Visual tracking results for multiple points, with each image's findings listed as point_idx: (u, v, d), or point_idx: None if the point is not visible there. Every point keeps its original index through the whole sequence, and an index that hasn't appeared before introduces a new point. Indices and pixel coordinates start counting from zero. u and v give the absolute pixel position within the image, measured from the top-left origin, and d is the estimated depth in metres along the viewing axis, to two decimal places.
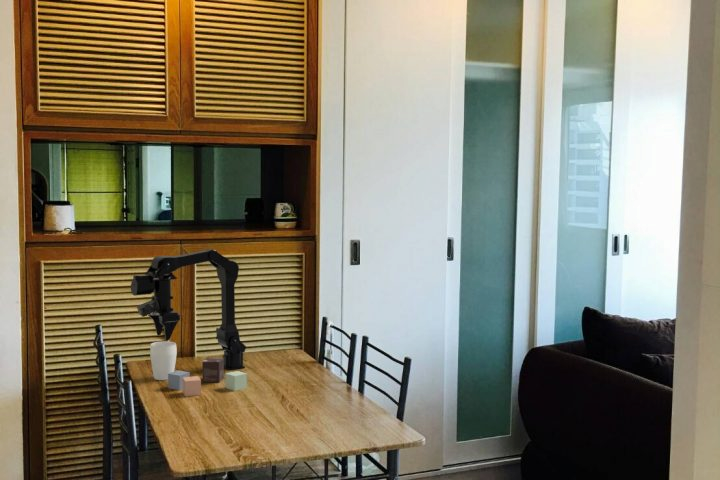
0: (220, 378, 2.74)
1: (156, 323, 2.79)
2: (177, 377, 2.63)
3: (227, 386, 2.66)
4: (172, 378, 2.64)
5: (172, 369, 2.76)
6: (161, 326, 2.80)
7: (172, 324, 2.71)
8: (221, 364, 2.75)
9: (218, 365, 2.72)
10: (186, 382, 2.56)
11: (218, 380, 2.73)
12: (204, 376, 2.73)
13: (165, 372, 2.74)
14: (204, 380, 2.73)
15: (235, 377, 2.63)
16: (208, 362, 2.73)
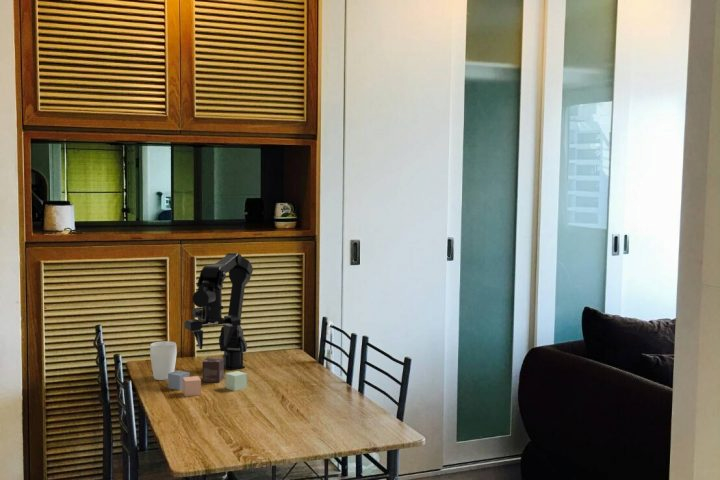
0: (220, 378, 2.74)
1: (224, 333, 2.78)
2: (177, 377, 2.63)
3: (227, 386, 2.66)
4: (172, 378, 2.64)
5: (172, 369, 2.76)
6: (226, 337, 2.77)
7: None
8: (221, 364, 2.75)
9: (218, 365, 2.72)
10: (186, 382, 2.56)
11: (218, 380, 2.73)
12: (204, 376, 2.73)
13: (165, 372, 2.74)
14: (204, 380, 2.73)
15: (235, 377, 2.63)
16: (208, 362, 2.73)
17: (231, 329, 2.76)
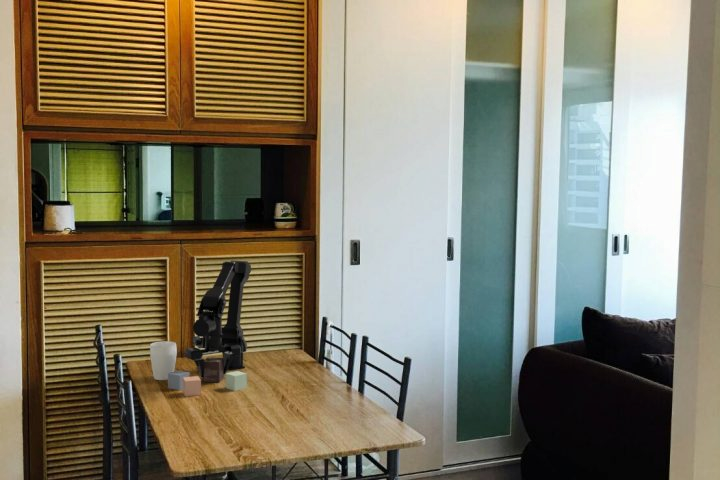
0: (220, 378, 2.74)
1: None
2: (177, 377, 2.63)
3: (227, 386, 2.66)
4: (172, 378, 2.64)
5: (172, 369, 2.76)
6: (225, 365, 2.77)
7: None
8: (221, 364, 2.75)
9: (218, 365, 2.72)
10: (186, 382, 2.56)
11: (218, 380, 2.73)
12: (204, 376, 2.73)
13: (165, 372, 2.74)
14: (204, 380, 2.73)
15: (235, 377, 2.63)
16: (208, 362, 2.73)
17: (230, 357, 2.76)
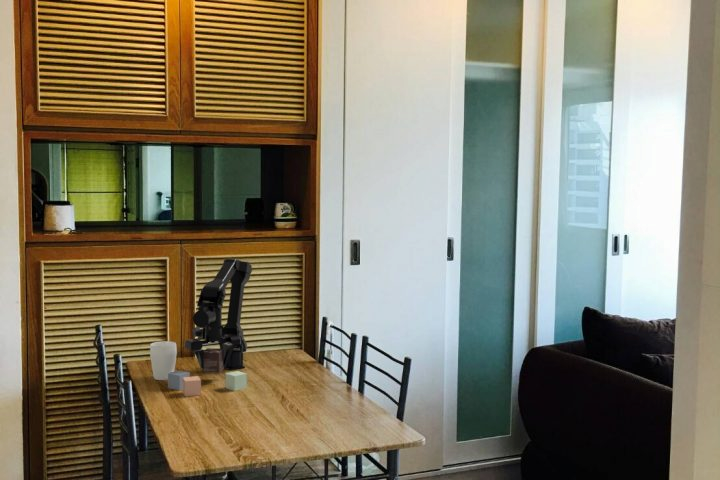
0: (220, 369, 2.74)
1: None
2: (177, 377, 2.63)
3: (227, 386, 2.66)
4: (172, 378, 2.64)
5: (172, 369, 2.76)
6: (225, 357, 2.77)
7: None
8: (221, 355, 2.75)
9: (218, 356, 2.72)
10: (186, 382, 2.56)
11: (218, 371, 2.73)
12: (204, 367, 2.73)
13: (165, 372, 2.74)
14: (204, 371, 2.73)
15: (235, 377, 2.63)
16: (208, 353, 2.72)
17: (230, 348, 2.76)
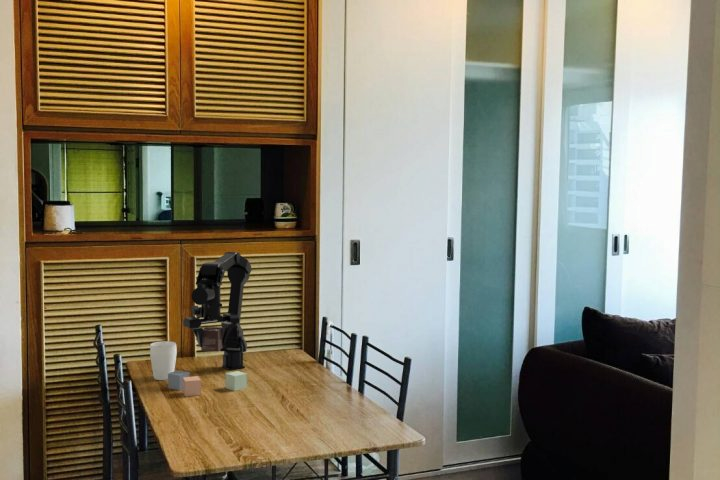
0: (219, 347, 2.72)
1: None
2: (177, 377, 2.63)
3: (227, 386, 2.66)
4: (172, 378, 2.64)
5: (172, 369, 2.76)
6: (224, 335, 2.75)
7: None
8: (220, 333, 2.73)
9: (217, 334, 2.70)
10: (186, 382, 2.56)
11: (217, 349, 2.71)
12: (203, 345, 2.71)
13: (165, 372, 2.74)
14: (203, 349, 2.71)
15: (235, 377, 2.63)
16: (207, 331, 2.70)
17: (229, 327, 2.74)
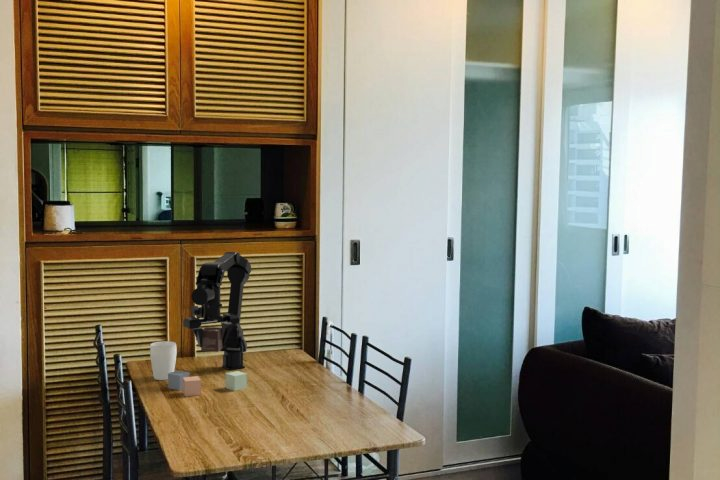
0: (219, 347, 2.72)
1: (222, 331, 2.77)
2: (177, 377, 2.63)
3: (227, 386, 2.66)
4: (172, 378, 2.64)
5: (172, 369, 2.76)
6: (224, 335, 2.75)
7: None
8: (220, 333, 2.73)
9: (217, 334, 2.70)
10: (186, 382, 2.56)
11: (217, 349, 2.71)
12: (203, 345, 2.71)
13: (165, 372, 2.74)
14: (203, 349, 2.71)
15: (235, 377, 2.63)
16: (207, 331, 2.70)
17: (229, 327, 2.74)
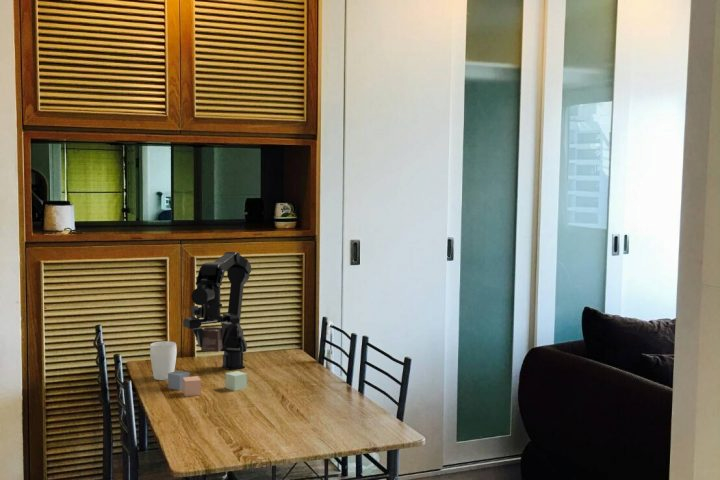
0: (219, 347, 2.72)
1: (222, 331, 2.77)
2: (177, 377, 2.63)
3: (227, 386, 2.66)
4: (172, 378, 2.64)
5: (172, 369, 2.76)
6: (224, 335, 2.75)
7: None
8: (220, 333, 2.73)
9: (217, 334, 2.70)
10: (186, 382, 2.56)
11: (217, 349, 2.71)
12: (203, 345, 2.71)
13: (165, 372, 2.74)
14: (203, 349, 2.71)
15: (235, 377, 2.63)
16: (207, 331, 2.70)
17: (229, 327, 2.74)
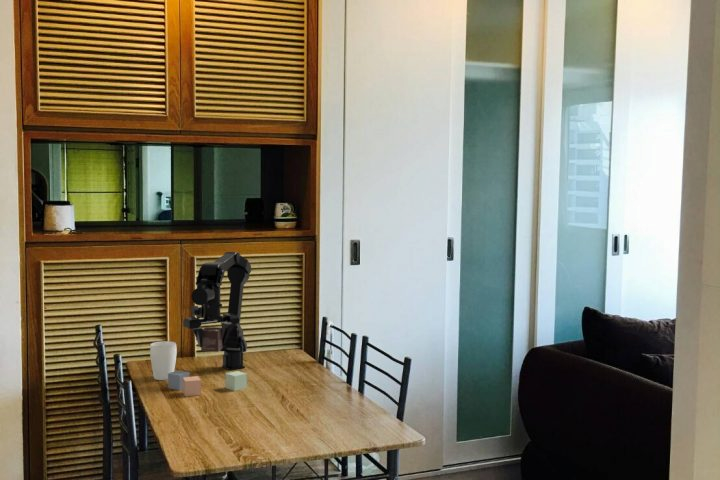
0: (219, 347, 2.72)
1: (222, 331, 2.77)
2: (177, 377, 2.63)
3: (227, 386, 2.66)
4: (172, 378, 2.64)
5: (172, 369, 2.76)
6: (224, 335, 2.75)
7: None
8: (220, 333, 2.73)
9: (217, 334, 2.70)
10: (186, 382, 2.56)
11: (217, 349, 2.71)
12: (203, 345, 2.71)
13: (165, 372, 2.74)
14: (203, 349, 2.71)
15: (235, 377, 2.63)
16: (207, 331, 2.70)
17: (229, 327, 2.74)
